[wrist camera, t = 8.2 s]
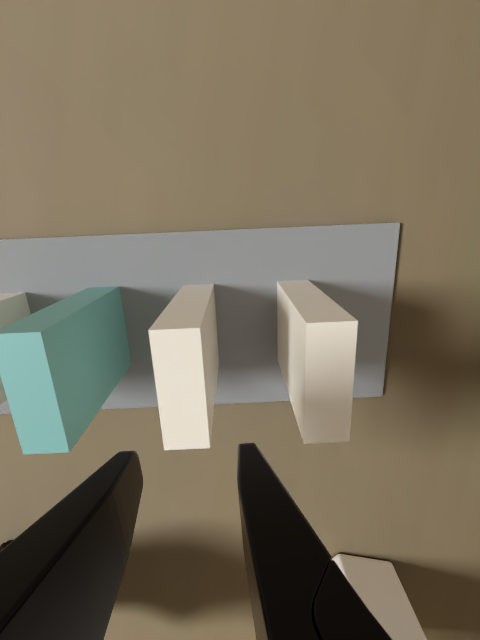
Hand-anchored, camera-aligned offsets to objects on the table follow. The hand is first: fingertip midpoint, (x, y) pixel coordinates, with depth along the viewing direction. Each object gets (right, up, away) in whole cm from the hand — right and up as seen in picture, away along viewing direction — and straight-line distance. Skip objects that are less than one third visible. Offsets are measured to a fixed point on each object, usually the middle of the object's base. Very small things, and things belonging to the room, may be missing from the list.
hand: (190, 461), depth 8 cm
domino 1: (-7, +3, +12) cm, 14 cm away
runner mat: (-8, +3, +12) cm, 15 cm away
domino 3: (+4, +3, +12) cm, 13 cm away
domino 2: (-1, +3, +12) cm, 12 cm away
